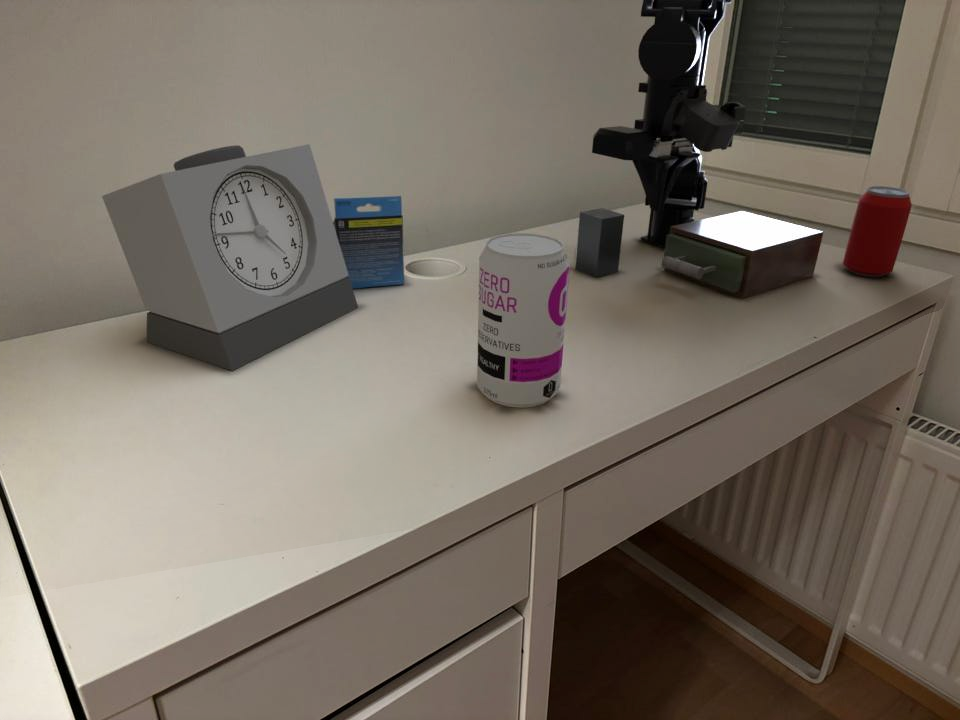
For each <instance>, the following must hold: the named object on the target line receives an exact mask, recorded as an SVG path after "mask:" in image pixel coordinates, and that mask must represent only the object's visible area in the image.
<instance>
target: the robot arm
mask: <svg viewBox="0 0 960 720" xmlns="http://www.w3.org/2000/svg"><path fill="white" fill-rule="evenodd" d="M727 4H729V5H731V4H732V0H642V4H641V9H640V17H642V18H654V22H653V24H651V26H650V27H649V28H648V29H647V30H646V31H645V33H644V34H643V36H642V37H641V40H640V43H639V45H638V51H637V52H638V53H637V54H638V55H637V56H638V61H639V64H640V67H641V69H642V70H643V72H644V73H645V74H646V75H647V79H646V81H645V82H638V91H637V92H638V93H643V94H645V97H644V105H643V114H642V118H640V119H634V126H633V127H628V126H623V125H619V126H607V127H599V129H597V131H596V132H595V133H594V134H593V136H592V148H591V153H592V154H595V155H600V156H605V157H607V158H613V159H617V160H618V159H619V160H622V161H632V163H633V166H634V168H635V170H636V172H637V174H638V177H639V179H640V183H641V186H642V188H643V191H644V194H645V199H644V205H645V206H647V207H649V209H650V213H649V220H648V226H647V227H648V229H647V234H646V235H642V236H640V241H643V242H646V243H649V244H651V245H654V246H658V247H661V248H664V249H665V245H666V237H667V235H669V234H670V227H671V226H675V225H679V224H684V223H689V222H693V221H696V219H695V217H694V212H695V211H697V212H698V211H699V210H702V209H705V202H706V198H707V192H708V191H707V190H708V182H709V181H708V179H707V178H706V175H705V173H706V172H705V170H701V169H702V164H703V156H702V154H701V152H704V153H710V152H712V151H714V150H722V151H725V150H727V149H728V148H732V146H733V141H734V136H738V135H742V134H743V132H744V127H743V126H744V124H745V117H746V106H745V105H743V104H742V103H740V102H738V101H727V102H725V103H724V104H722V106H721V105H719V104H712V103H711V102H709V101H707V96H708V89H707V85H705V84H704V80H705V75H706V73H705V72H706V67H707V59H708V53H709V46H710V39H711V36H712V34H713V32H714V31H715V30H716V28H717V27H718V25H720V22H721V21H722V20H723V18H724V17H725V15H726V14H725V13H726V7H727ZM693 198H695V199H693Z"/></svg>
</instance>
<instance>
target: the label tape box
mask: <svg viewBox="0 0 960 720" xmlns="http://www.w3.org/2000/svg"><path fill="white" fill-rule="evenodd" d="M333 203H334V219H333V220H332V221H333V224H334V228H335V231H336V235H337V238H338V241H339V245H340V248H341V251H342V255H343V258H344V261H345V265H346V268H347V272H348V275H349V276H347V277H348V278H350V281H351V284H352V288H353V290H356V289H365V288H371V287H385V286H396V285H397V286H398V285H399V286H400V285H405V259H404V257H405V255H404V254H405V253H404V252H405V251H404V250H405V249H404V216H403V211H402V210H403V209H402V208H403V205H402V203H403V202H402V195H394V196H392V195H391V196H390V195H389V196H365V197H364V196H361V197H334V198H333ZM367 205H370V206H371V207H377V208H379V209H378V210H368V211H367V210H365V211H364V210H363V211H359V210H358V208H361V207H362V208H364V207H366V206H367Z"/></svg>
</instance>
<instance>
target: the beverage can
mask: <svg viewBox="0 0 960 720" xmlns="http://www.w3.org/2000/svg"><path fill="white" fill-rule="evenodd" d="M910 194H911V193H910V191H908V190H905V189H903V188H898V187H892V186H883V185H882V186H881V185H880V186H879V185H876V186H869V187H867V189H866V191H865V192H864V193H863V194H862V195H861V196H860V197H859V198H858V202H857V206H856V208H855V213H854V216H853V221H852V224H851V228H850V231H849V236H848V240H847V244H846V247H845V251H844V256H843V260H842V265H843V266H844V267H845V268H847V270H848V271H850V272H851V273H854V274H855V275H858V276H859V275H860V276H864V277H872V278H878V277H883V276H885V275H887V274H891V273H892V272H893V271H894V268H895V265H896V261H897V258H898V255H899V251H900V248H901V245H902V241H903V238H904V235H905V231H906V229H907V224H908V220H909V217H910V214H911V210H912V207H913V204H912V201H911V197H910Z"/></svg>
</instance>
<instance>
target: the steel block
mask: <svg viewBox="0 0 960 720" xmlns="http://www.w3.org/2000/svg"><path fill="white" fill-rule="evenodd" d="M624 223H625V214H624V213H620V212H616V211H614V210H611V209H607V208H603V207H600V208H595V209H589V210H584V211H580V212H579V219H578V231H577V232H578V233H577V244H576V257H575V270H577V271H578V272H580V273H583V274H585V275H588V276H591V277H593V278H595V279H597V278H601V277H605V276H608V275H613V274H617V273H619V267H620V259H621V249H622V239H623V230H624Z"/></svg>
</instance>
